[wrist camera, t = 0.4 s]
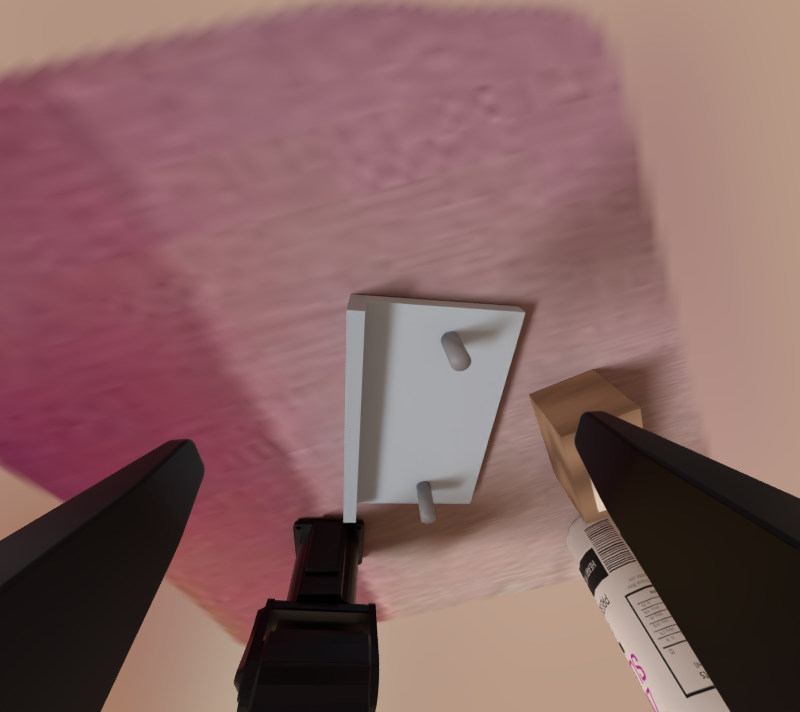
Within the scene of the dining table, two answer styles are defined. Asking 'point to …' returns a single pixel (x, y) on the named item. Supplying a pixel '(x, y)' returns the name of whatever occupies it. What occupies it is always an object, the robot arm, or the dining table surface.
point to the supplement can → (641, 621)
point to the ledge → (421, 398)
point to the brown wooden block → (559, 424)
